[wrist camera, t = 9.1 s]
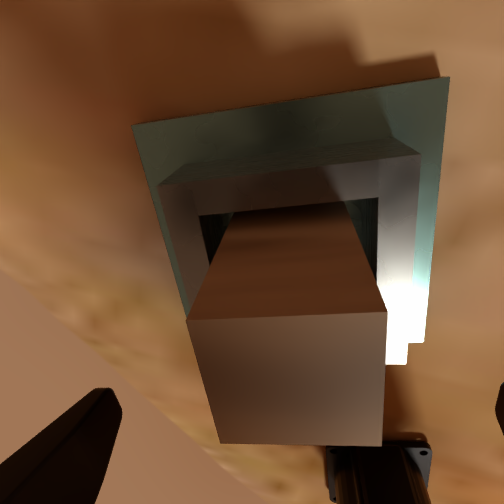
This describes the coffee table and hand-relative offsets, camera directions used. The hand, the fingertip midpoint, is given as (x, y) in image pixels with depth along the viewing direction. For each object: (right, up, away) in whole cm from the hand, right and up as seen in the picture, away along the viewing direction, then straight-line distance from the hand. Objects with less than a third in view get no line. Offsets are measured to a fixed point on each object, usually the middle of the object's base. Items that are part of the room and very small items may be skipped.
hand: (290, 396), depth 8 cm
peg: (+1, +4, +7) cm, 8 cm away
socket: (+1, +4, +8) cm, 9 cm away
